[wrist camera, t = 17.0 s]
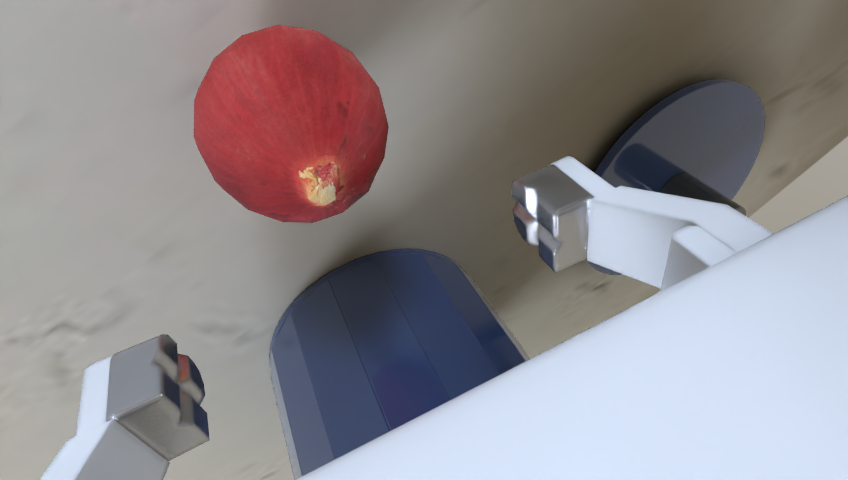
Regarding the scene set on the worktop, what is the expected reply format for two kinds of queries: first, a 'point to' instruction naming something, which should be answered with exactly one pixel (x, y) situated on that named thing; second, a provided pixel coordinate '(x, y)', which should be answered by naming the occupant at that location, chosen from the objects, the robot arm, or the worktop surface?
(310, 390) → the pot
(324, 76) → the onion
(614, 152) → the lid
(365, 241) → the worktop surface
